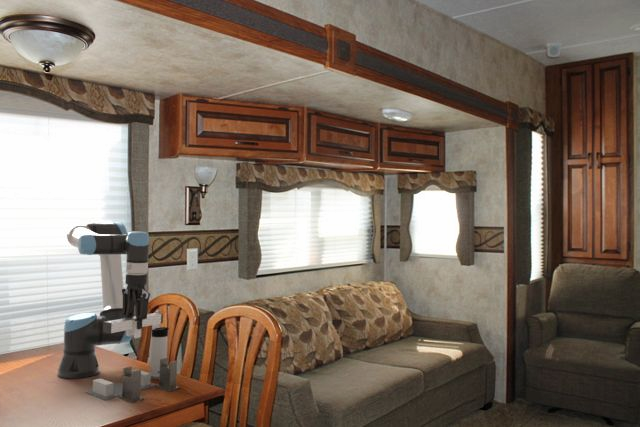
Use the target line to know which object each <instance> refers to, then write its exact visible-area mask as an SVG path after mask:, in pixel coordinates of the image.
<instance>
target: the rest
mask: <svg viewBox="0 0 640 427" xmlns="http://www.w3.org/2000/svg"><path fill="white" fill-rule="evenodd" d="M136 370H141V386H140V391H143V390H147V389H150V388H154V387H155V386H156V385H158V384H157V383H153V382H151V373H150V372H148V371H145V370H142V369H140V368H139V369H132V371H136ZM122 387H123V381H121V382H117V383H114V382H113V381H109V380H106V379H103V378H96V379H93V380H92V389H90V390H86V391H85V394H88V395H91V396H93V397H95V398H98V399H100V400H103V401H108V400H111V399H114V398H118V396H120V395H122Z"/></svg>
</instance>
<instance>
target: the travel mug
mask: <svg viewBox="0 0 640 427" xmlns="http://www.w3.org/2000/svg"><path fill="white" fill-rule="evenodd" d="M168 330H169V327H165V326H163V327H156V328H153V329H151V339H150V340H151V342H150V366H149V373H151V378H150V380H159V375H160V359H164V358H168V339H169V337H168V336H169V335H168V333H169V331H168Z"/></svg>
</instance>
